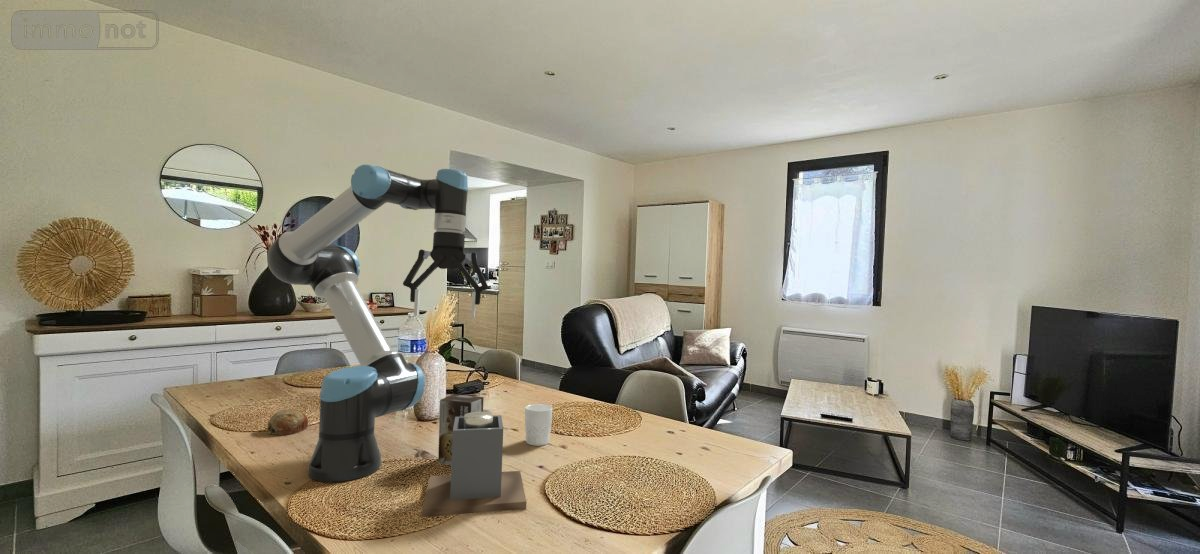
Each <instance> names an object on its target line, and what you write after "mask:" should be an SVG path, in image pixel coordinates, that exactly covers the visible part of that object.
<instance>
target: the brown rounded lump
mask: <svg viewBox="0 0 1200 554" xmlns="http://www.w3.org/2000/svg"><path fill="white" fill-rule="evenodd" d="M308 426H309V420H308V416H307V414H305V413H304V412H303V411H301V410H298V409H296V408H288V409H287V408H286V409H281V410H279V411H277V412H275V413H274V414H273V415H272V416H271V417H270V419H269V421H268V422H267V434H268V435H275V436H278V435H279V436H287V435H290V436H291V435H294V434H299V433H300V432H303V431H305V430H306V429H308Z"/></svg>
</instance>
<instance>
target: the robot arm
mask: <svg viewBox="0 0 1200 554" xmlns="http://www.w3.org/2000/svg"><path fill="white" fill-rule="evenodd" d="M468 191H469V189H468V175H467V174H466V173H465V172H464V171H462V170H459V169H453V168H441V169H438V170H437V173H436V176H435V178H434V179H420V178H417V177H413V176H410V175H407V174H403V173H400V172H397V171H396V172H395V171H393V170H389V169H387V168H385V167H381V166H378V165H372V164H361V165H359V166H357V167H356V168H355V169H354V173H353V174H352V175H351V178H350V186H349V187H348V188H347V189H345V190H344V191H343V192H341V193H340V194H339V195H338V196H337V197H335V198H334V199H332V201H330V202H329V203H328V204H326V205H325V206H323V207H322V208H321V209H320V210H318V212H316V213H315V214H314V215H312V216H311V217H310V218H308V219H307V220H306V221H304V222H303V223H302V224H301V225H300V226H299V227H297V228H295V229H294V230H293V231H286V232H284V233H282V234H281V235H280V236H279V237H278V238H276V239H275V240H274V241H273V242H272V244H271V245H270V247H269V249H268V251H267V253H266V254H267V255H266V261H267V262H266V263H267V266H268V268H269V270H270V272H271V273H272V275H273V276H275V278H276V279H278V280H280V281H281V282H283V283H286V284H290V285H296V286H300V285H301V286H302V285H304V286H310V287H311V289H312V290H313V292H314V294H315V295H316V297H318V298H321V299H325V301H326V302H327V305H328V307H329V309H330V311H331V313H332V314H333V316H334V318H335V321H336V322H337V323H338V325H339V327H340V329H341V331H342V334H343V335H344V336H345V339H346V341H347V342H348V344H349V346H350V348H351V350H352V352H353V354H354V356H355V358H356V359H357V362H358V363H359V365H357V366H353V367H351V366H350V367H343V368H339V369H336V370H334V371H331V372H329V373H328V374H326V375H325V376H324V377H323V379H322V382H321V387H320V392H319V398H320V399H319V400H320V401H319V424H318V426H319V427H318V440H317V443H316V445H315V448H314V451H313V453H312V456H311V458H310V461H309V463H308V471H307V473H308V477H309V478H311V479H312V480H314V481H316V482H317V481H318V482H325V483H326V482H327V483H334V482H337V483H338V482H344V481H345V482H348V481H353V480H357V479H361V478H363V477H366V476H369V475H371V474H373V473H374V472H377V471H378V469H380V467H381V464H382V454H381V452H380V447H379V445H378V442H377V438H376V435H375V423H376V422H375V420H376V418H378V417H382V416H385V415H389V414H393V413H396V412H400V411H404V410H406V409H408V408H411V407H413V406H415V405H416V404H417V403H419V402H420V401H421V399H422V398H423V396H424V392H425V388H426V379H425V374H424V371H423V369H422V368H421V367H420V366H419V365H418V364H415V363H411V362H408V363H407V361H406V359H405V358H404V355H403V353H402V352H399V351H394V350H393V348H392V345H390V343H389V341H388V339H387V338H386V336H385V334H384V332H383V330H382V329H381V326H380V325H379V323H378V322H377V319H376V318H375V316H374V315H373V312H372V311H371V309H370V308H369V305H368V304H367V302H366V301H365V297H363V295H362V293H361V292H360V290H359V287H358V286H357V284H358V283H359V276H360V271H361V269H360V268H359V267H360V261H359V259H358V258H359V257H358V256H357V254H355V252H354V251H352V250H351V249H349V248H348V247H344V246H341V245H337V244H332V243H333V242H335V241H337V240H338V239H339V238H340V237H342V236H343V235H344V234H346V233H347V232H348V231H350V230H351V229H352V228H354V227H355V226H357V225H358V224H359V223H361V222H362V221H363V220H365V219H366V218H367V217H368V216H370V215H371V214H372V213H374V212H375V211H376V210H378V209H379V208H380V207H382V206H383V205H385V204H386V203H389V204H393V205H399V206H400V207H401V208H403V209H405V210H414V211H418V210H434V221H433V229H434V230H435V231H434V232H433V239H432V241H433V242H432V250H431V251H428V250H424V249H423V248H422V249H420V250H418V255H417V259H416V260H415V262H414V264H413V265H412V266H411V269H410V271H409V272H408V274H407V276H406V277H405V278H404V281H403V282H402V285H403V286H404V287H406V288H409V289H410V296H409V297H410V299H409V300H410V301H409V302H411V303H414V306H413V316H414V317H418V316H420V305H421V303H420V301H421V288H420V289H419V288H418V287H420V286H421V284H422V283H423V282H425V280H427V278H428V277H430V276H431V274H432V273H433V272H434V271H435V270H437V268H439V269H441V270H446V269H449V270H456V269H458V270H459V271H460V272H461V274H462V275H463V277H465V280H467V282H468V283H469V284H470V286H471V287H472V288H473V289H474V290H475V291H472V292H471V293H472V295H471V308H470V309H471V311H470V312H471V313H470V318H471V319H475V317H476V305H480V304H481V296H482V295H481V294H482V291H486V290H488V289H489V285H488V283H487V281H486V278H485V277H484V275H483V272H482V269H481V268H480V266H479V263H478V257H477V253H475V252H472V253H465V243H466V241H465V240H466V236H465V234H464V233H465V232H466V225H467V224H466V222H467V215H466V214H467V204H468V203H467V202H468V193H469V192H468ZM429 257H431V259H432V263H431V264H430V265H429V266H428V267H427V268H426V269H425V270H424V271H423V272H422V273H421V275H419V277H417V278H416V279H415V280H414V278H415V277H416V275H417V274H418V272H419V270H420V268H421V266H422V265H423V264H424V261H425V260H427V259H428V258H429ZM466 258H467V260H468V261H469V262H470V263H471V264H472V266H473V269H474V271H475V274H476V276H477V278H478V280H479V282H480V284H481V285H479V284H478V283H477V281H476V280H474V278H473V276H471V274H470V273H469V272H468V270H467V269H466V267H465V266H464V265H463V262H464V260H465V259H466ZM413 280H414V282H413Z"/></svg>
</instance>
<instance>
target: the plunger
mask: <svg viewBox="0 0 1200 554" xmlns="http://www.w3.org/2000/svg"><path fill="white" fill-rule="evenodd" d="M493 416H494V414H493V413H491V412H488V411H483V412H471V413H467V414H465V415H464V429H477V428H492V427H493Z"/></svg>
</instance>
